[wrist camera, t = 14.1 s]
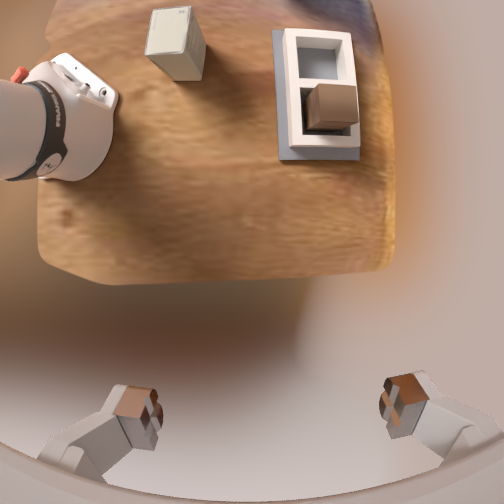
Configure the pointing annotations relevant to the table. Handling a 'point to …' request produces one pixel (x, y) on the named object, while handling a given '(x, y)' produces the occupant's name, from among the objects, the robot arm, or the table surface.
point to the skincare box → (176, 43)
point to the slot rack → (301, 85)
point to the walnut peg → (330, 108)
